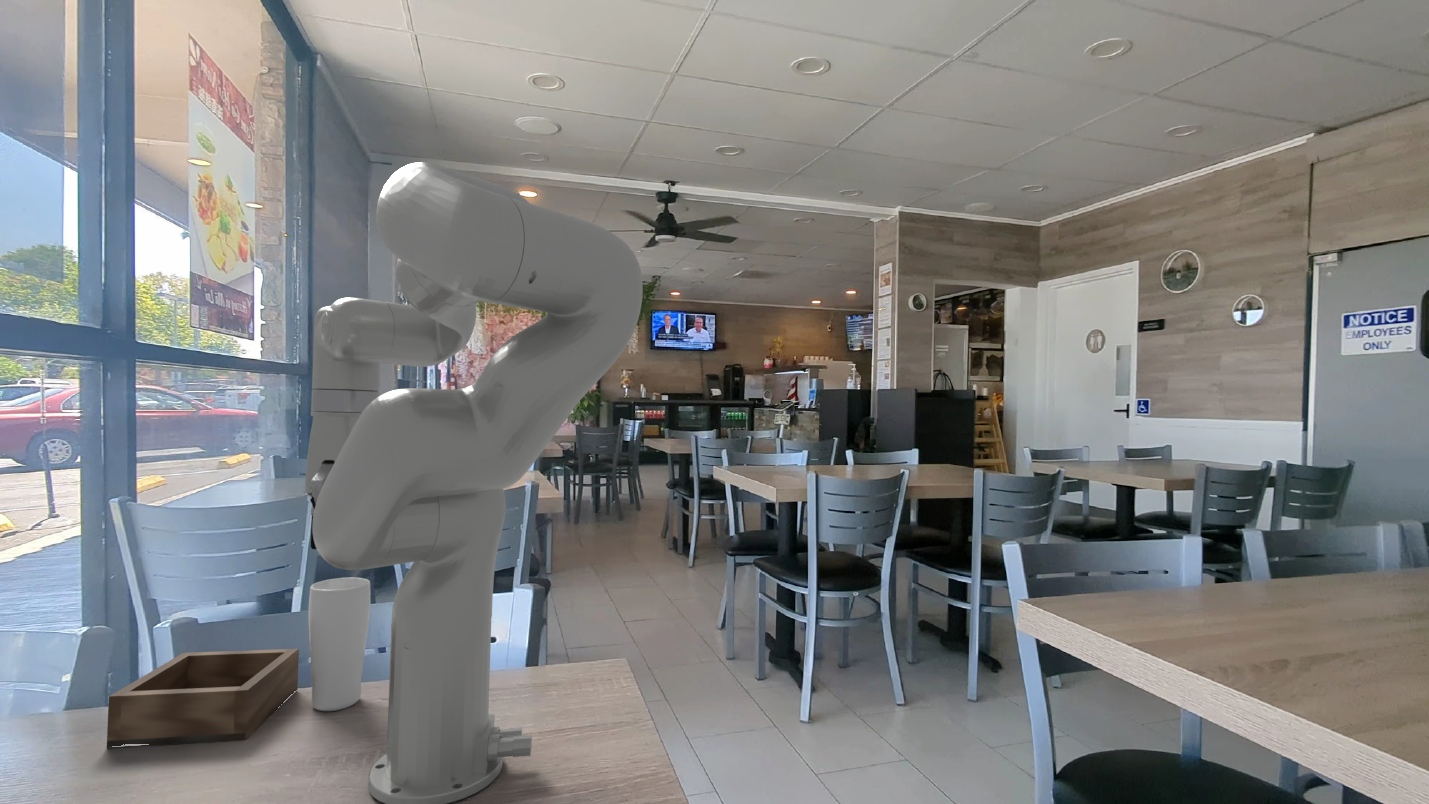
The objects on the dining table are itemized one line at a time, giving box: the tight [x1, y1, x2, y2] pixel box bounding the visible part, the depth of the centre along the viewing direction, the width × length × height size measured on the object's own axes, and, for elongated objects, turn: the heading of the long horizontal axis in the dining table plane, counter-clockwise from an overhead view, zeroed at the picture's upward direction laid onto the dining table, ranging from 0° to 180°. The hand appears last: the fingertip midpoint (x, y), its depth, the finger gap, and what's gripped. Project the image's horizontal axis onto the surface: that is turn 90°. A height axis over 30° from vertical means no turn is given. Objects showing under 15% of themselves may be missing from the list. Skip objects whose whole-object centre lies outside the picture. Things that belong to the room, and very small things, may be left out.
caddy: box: [106, 648, 300, 749], centre depth 80 cm, size 13×13×6 cm
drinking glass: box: [307, 577, 371, 712], centre depth 84 cm, size 7×7×15 cm
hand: (340, 541), depth 84 cm, fingers open, 9 cm apart
